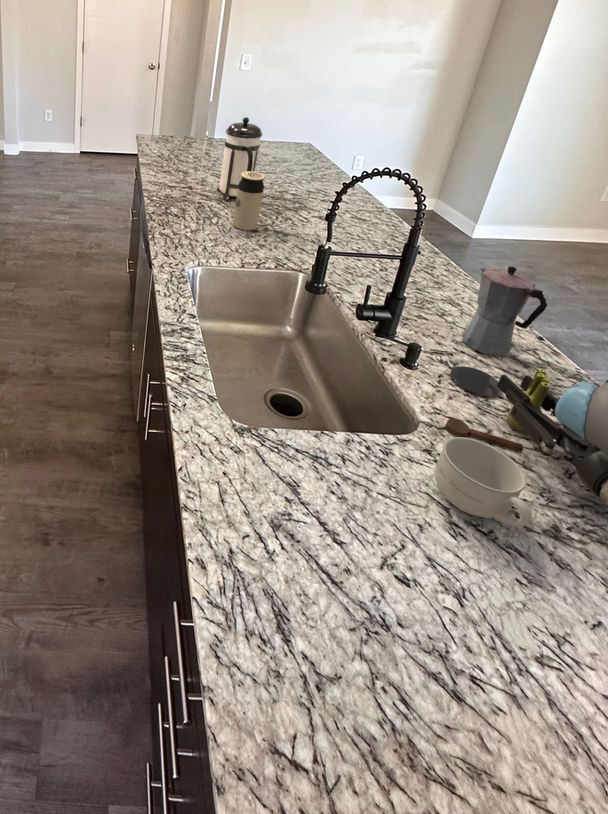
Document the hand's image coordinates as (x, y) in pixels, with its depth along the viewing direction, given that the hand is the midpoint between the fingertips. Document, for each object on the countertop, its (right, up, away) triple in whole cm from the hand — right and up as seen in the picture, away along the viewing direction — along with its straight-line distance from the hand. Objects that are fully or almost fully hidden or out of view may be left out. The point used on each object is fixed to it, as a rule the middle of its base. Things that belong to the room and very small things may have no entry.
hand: (512, 380), depth 102 cm
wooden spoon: (-8, -9, -5) cm, 14 cm away
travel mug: (-29, +30, +78) cm, 89 cm away
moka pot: (+10, +2, +21) cm, 23 cm away
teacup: (-20, -15, -17) cm, 31 cm away
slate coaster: (-1, -3, +9) cm, 10 cm away
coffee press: (-26, +42, +102) cm, 114 cm away
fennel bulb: (0, -8, -2) cm, 9 cm away
